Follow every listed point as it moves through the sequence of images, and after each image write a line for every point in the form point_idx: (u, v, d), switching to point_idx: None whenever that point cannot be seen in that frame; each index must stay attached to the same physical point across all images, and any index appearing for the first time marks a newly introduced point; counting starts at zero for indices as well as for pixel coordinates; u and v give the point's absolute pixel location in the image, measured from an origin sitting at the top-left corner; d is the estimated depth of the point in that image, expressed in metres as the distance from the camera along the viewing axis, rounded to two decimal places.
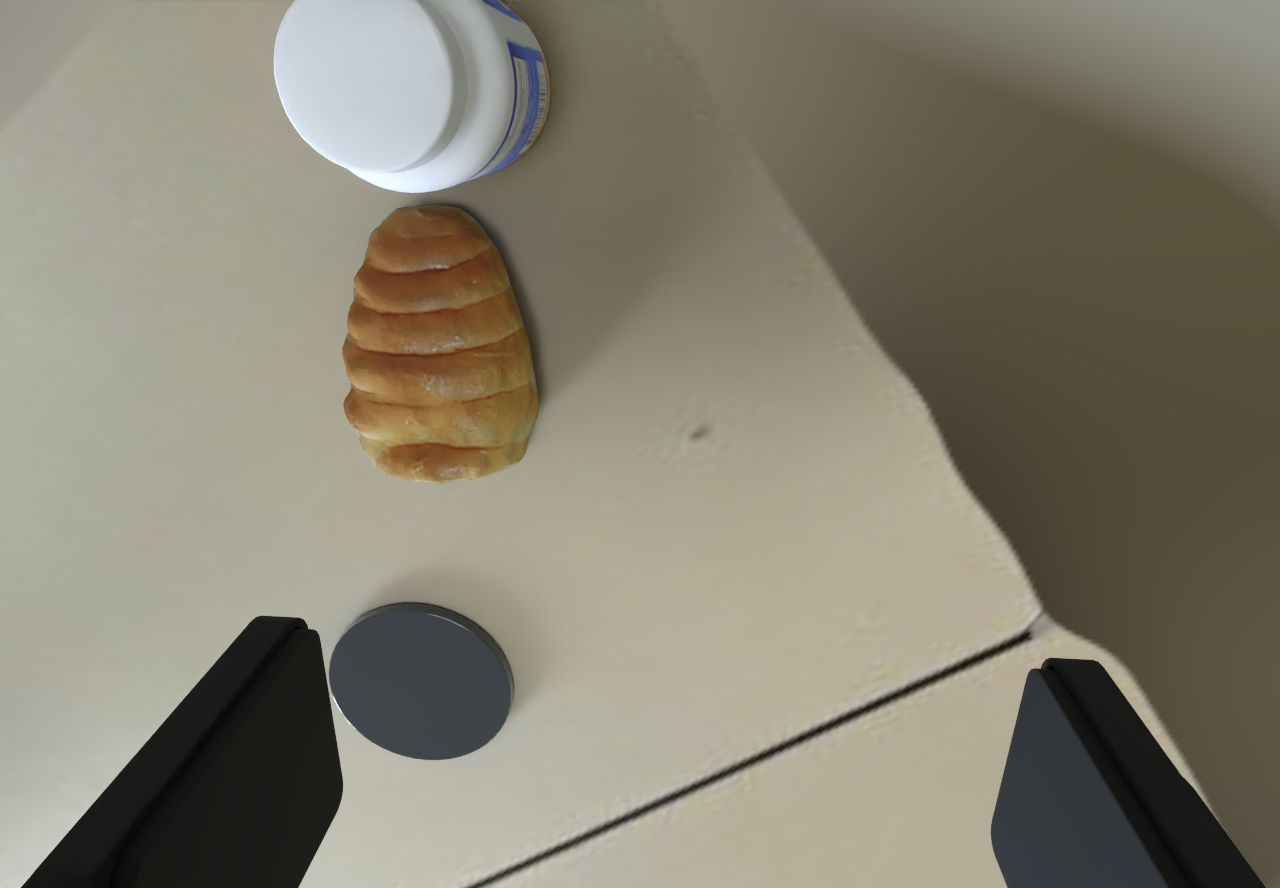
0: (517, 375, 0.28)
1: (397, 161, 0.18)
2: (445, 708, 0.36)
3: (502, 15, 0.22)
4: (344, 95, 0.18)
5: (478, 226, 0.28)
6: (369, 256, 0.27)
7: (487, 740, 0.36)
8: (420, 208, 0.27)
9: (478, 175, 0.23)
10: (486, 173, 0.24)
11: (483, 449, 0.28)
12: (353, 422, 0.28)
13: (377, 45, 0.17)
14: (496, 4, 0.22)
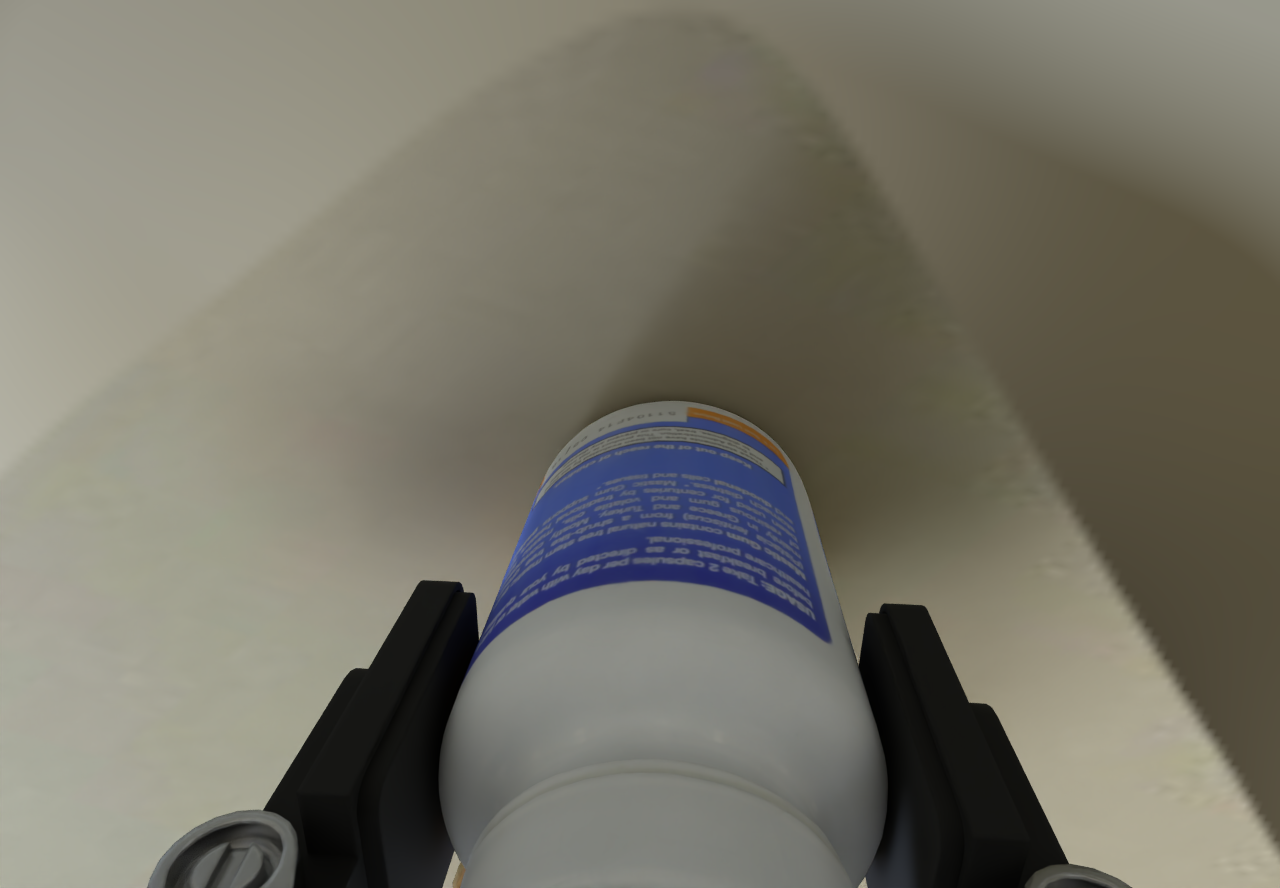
0: None
1: None
2: None
3: (820, 576, 0.11)
4: None
5: None
6: None
7: None
8: None
9: None
10: None
11: None
12: None
13: None
14: (795, 531, 0.12)
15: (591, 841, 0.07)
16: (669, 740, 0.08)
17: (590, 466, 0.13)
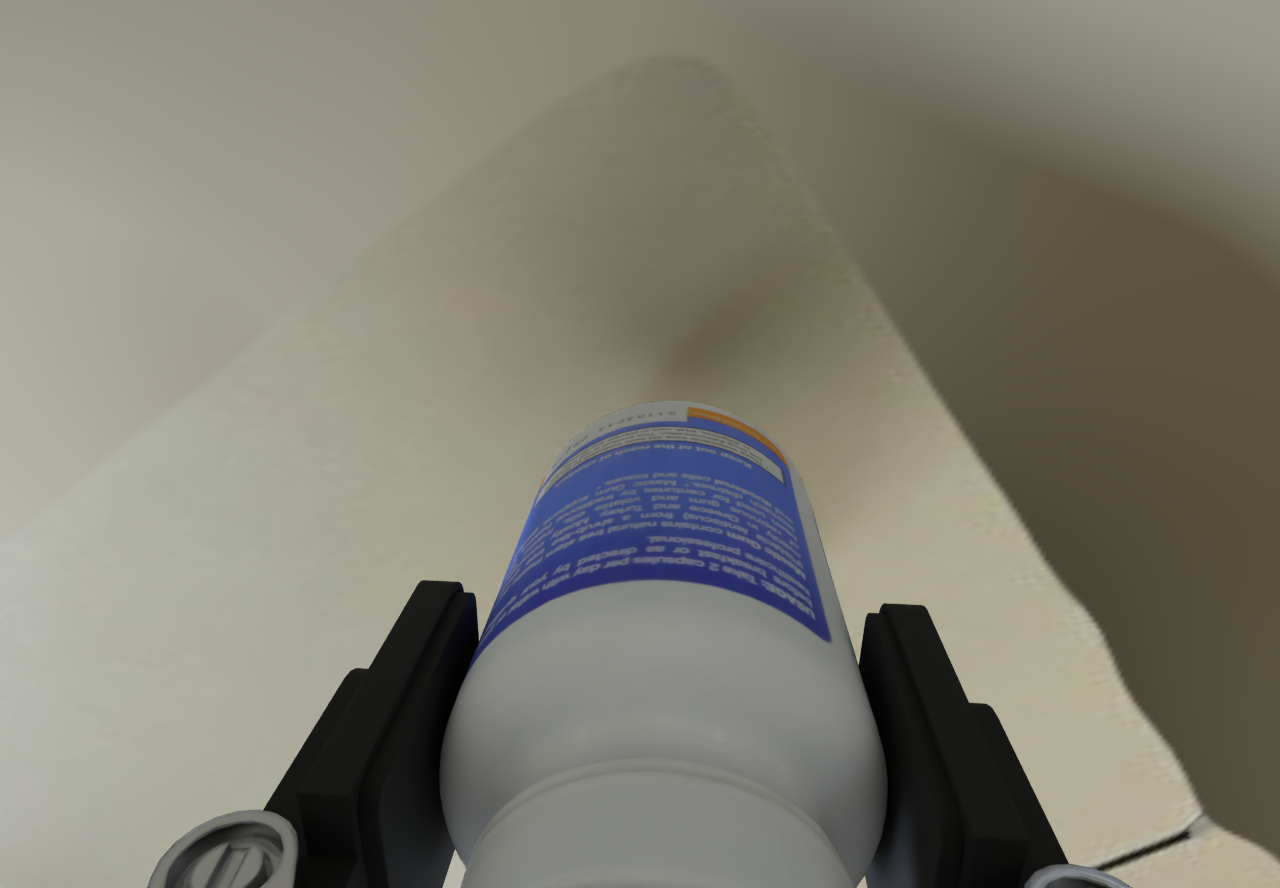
0: None
1: None
2: None
3: (820, 575, 0.11)
4: None
5: None
6: None
7: None
8: None
9: None
10: None
11: None
12: None
13: None
14: (795, 530, 0.12)
15: (592, 839, 0.07)
16: (669, 739, 0.08)
17: (590, 465, 0.13)
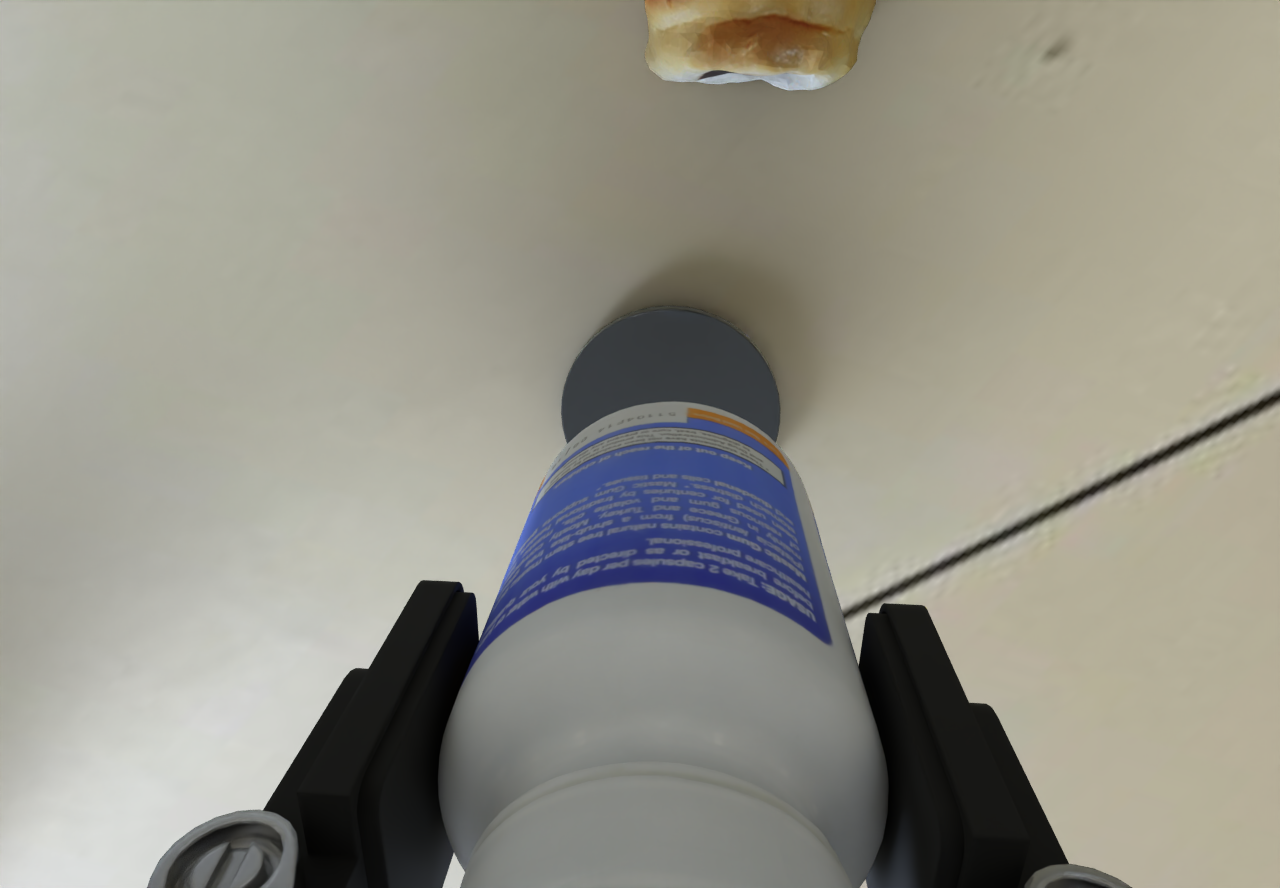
0: None
1: None
2: None
3: (820, 577, 0.11)
4: None
5: None
6: None
7: None
8: None
9: None
10: None
11: (826, 29, 0.23)
12: None
13: None
14: (795, 532, 0.12)
15: (591, 843, 0.07)
16: (669, 742, 0.08)
17: (590, 466, 0.13)
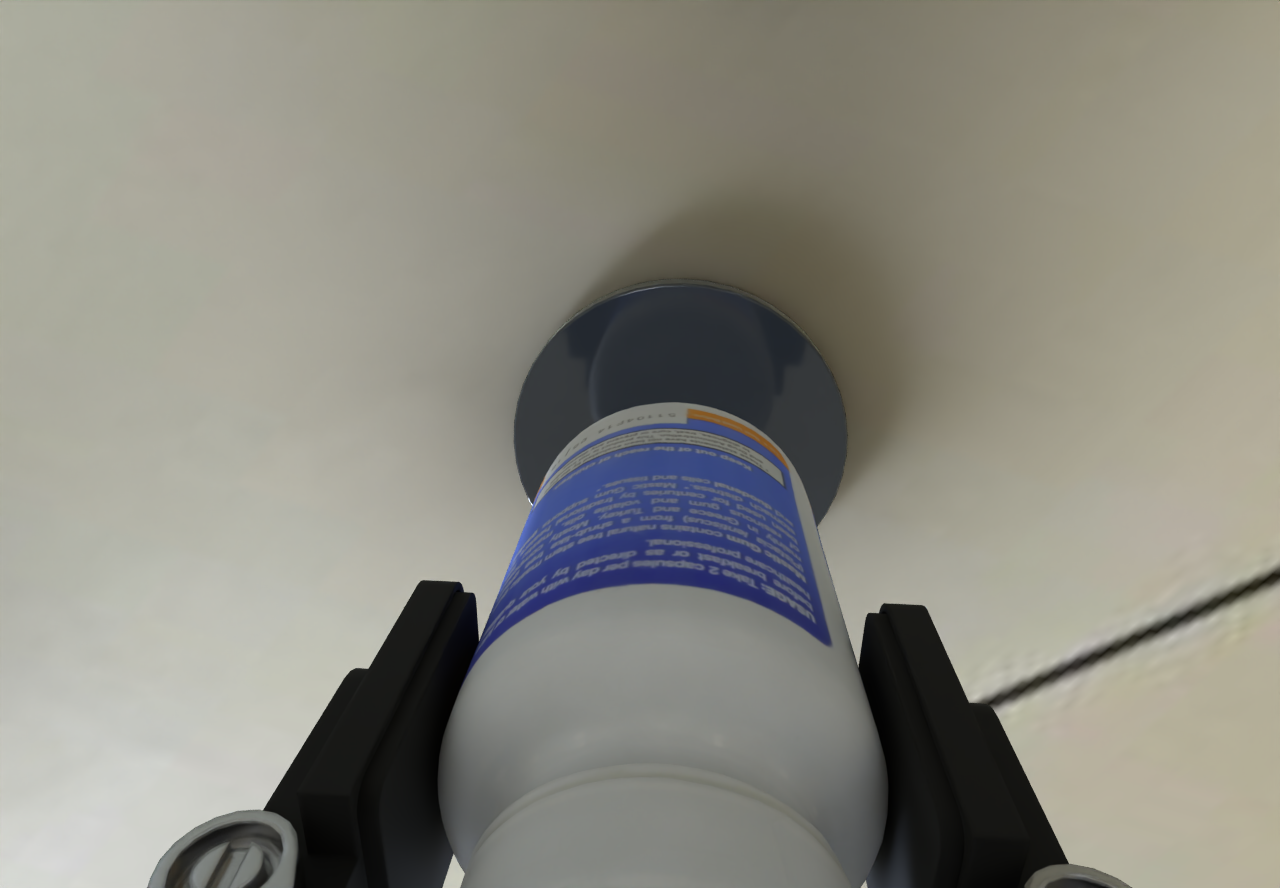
0: None
1: None
2: None
3: (820, 578, 0.11)
4: None
5: None
6: None
7: None
8: None
9: None
10: None
11: None
12: None
13: None
14: (795, 533, 0.12)
15: (590, 846, 0.07)
16: (669, 744, 0.08)
17: (589, 467, 0.13)
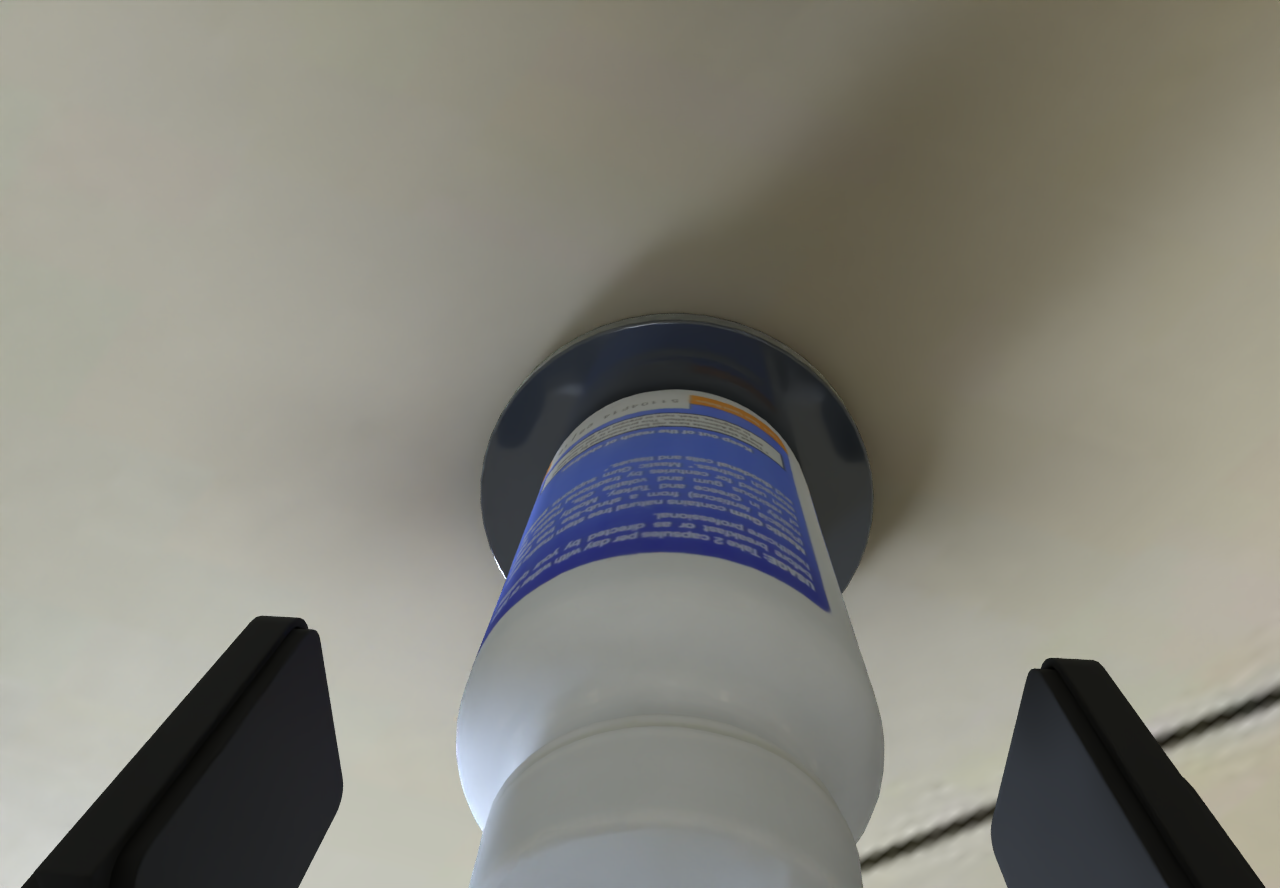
0: None
1: None
2: None
3: (818, 552, 0.12)
4: None
5: None
6: None
7: None
8: None
9: None
10: None
11: None
12: None
13: None
14: (794, 510, 0.12)
15: (607, 785, 0.07)
16: (678, 699, 0.09)
17: (597, 450, 0.13)
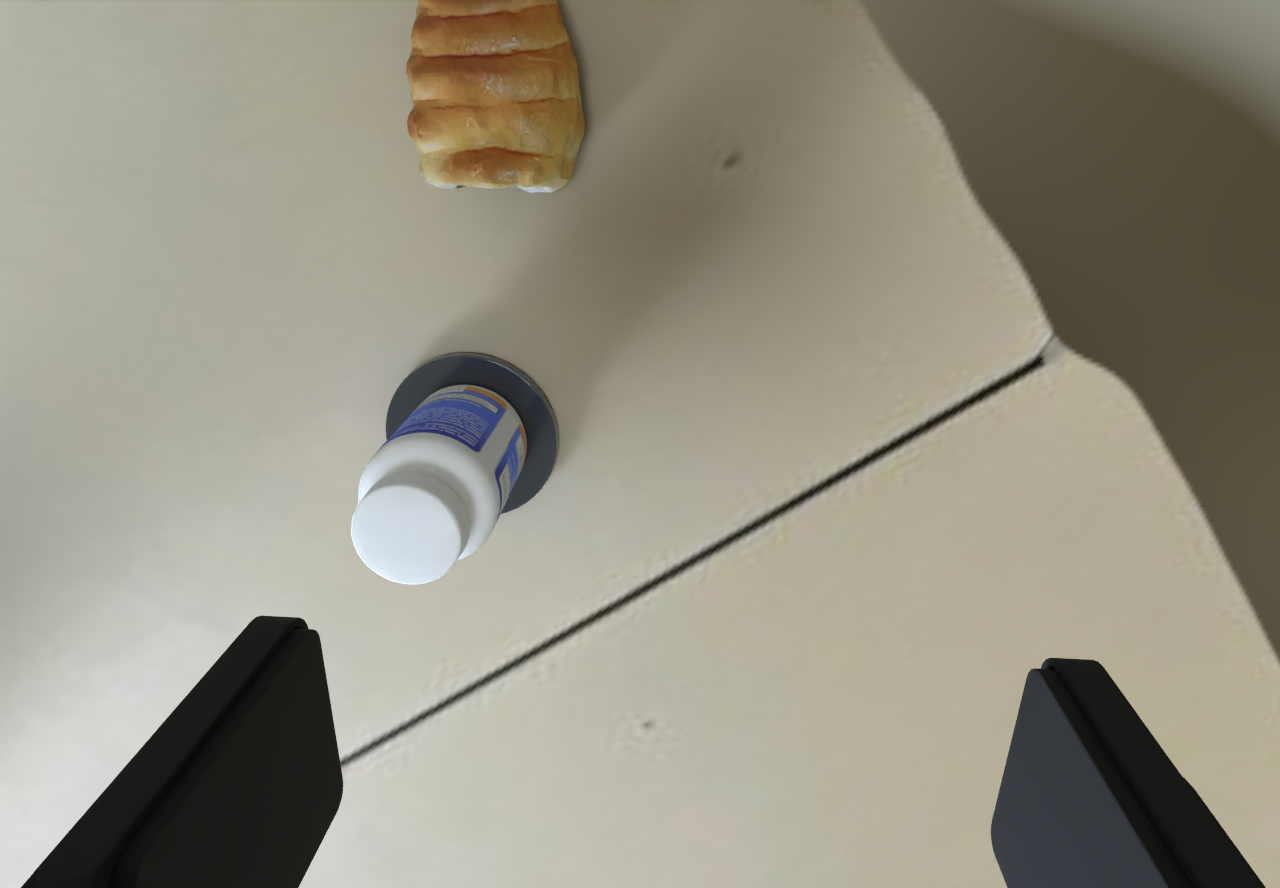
0: (566, 85, 0.31)
1: (427, 579, 0.29)
2: None
3: (491, 440, 0.33)
4: (394, 546, 0.29)
5: None
6: None
7: (534, 492, 0.39)
8: None
9: None
10: None
11: (536, 156, 0.31)
12: (417, 131, 0.31)
13: (415, 521, 0.29)
14: (487, 426, 0.33)
15: (387, 481, 0.28)
16: (417, 470, 0.30)
17: (421, 407, 0.35)
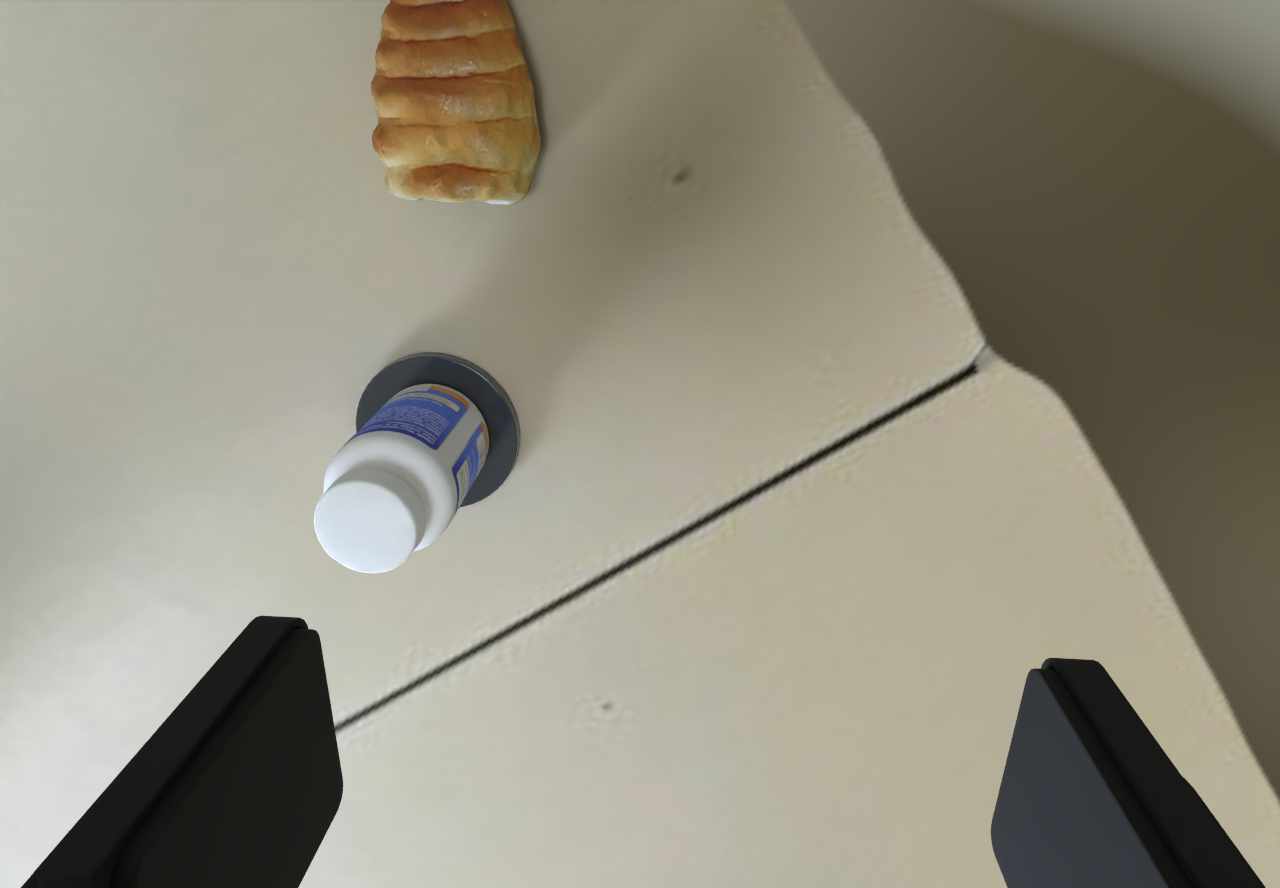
0: (522, 106, 0.32)
1: (385, 568, 0.32)
2: None
3: (451, 437, 0.35)
4: (354, 537, 0.31)
5: None
6: None
7: (497, 486, 0.41)
8: None
9: None
10: None
11: (493, 172, 0.33)
12: (381, 147, 0.32)
13: (373, 515, 0.31)
14: (448, 425, 0.35)
15: (348, 477, 0.31)
16: (377, 466, 0.32)
17: (386, 405, 0.37)
